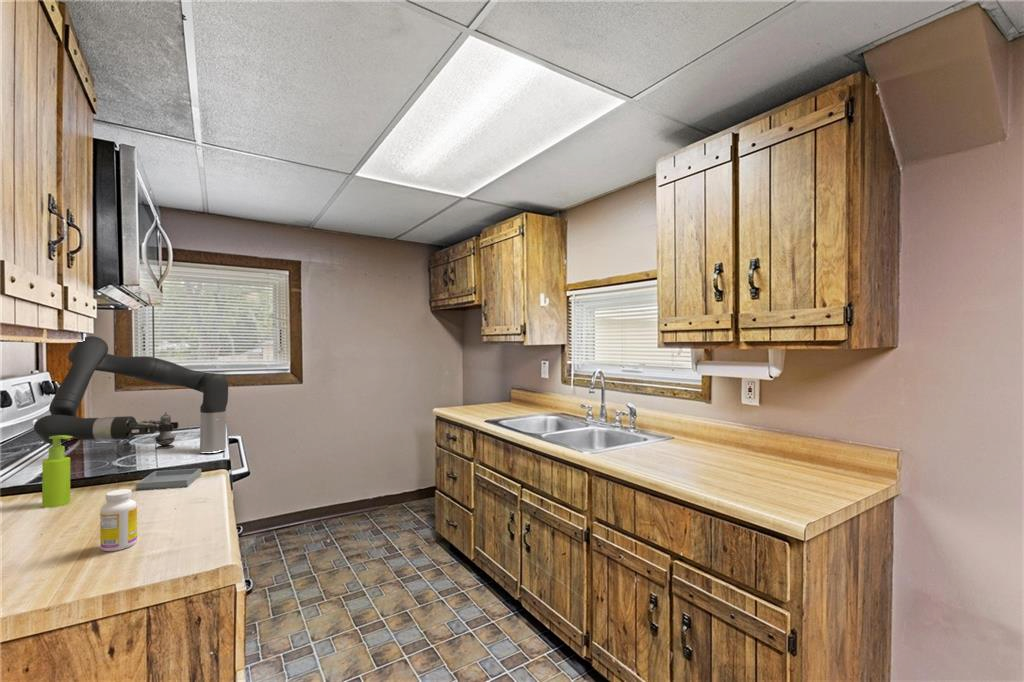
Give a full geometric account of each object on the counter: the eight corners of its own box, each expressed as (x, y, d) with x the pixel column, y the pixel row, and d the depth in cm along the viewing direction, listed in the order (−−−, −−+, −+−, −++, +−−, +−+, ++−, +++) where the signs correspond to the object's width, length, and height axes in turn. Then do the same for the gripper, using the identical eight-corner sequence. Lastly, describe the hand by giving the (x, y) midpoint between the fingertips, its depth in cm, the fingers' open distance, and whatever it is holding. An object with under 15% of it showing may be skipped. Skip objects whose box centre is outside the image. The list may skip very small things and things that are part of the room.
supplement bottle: (132, 537, 117) (133, 485, 116) (140, 545, 112) (140, 491, 112) (97, 546, 111) (97, 492, 111) (103, 555, 107) (103, 498, 107)
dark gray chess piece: (164, 450, 157) (164, 414, 157) (149, 448, 158) (150, 412, 158) (180, 446, 162) (180, 411, 162) (166, 445, 164) (166, 410, 164)
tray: (154, 478, 164) (154, 471, 164) (201, 475, 168) (201, 468, 168) (136, 490, 151) (136, 483, 151) (187, 487, 155) (187, 479, 155)
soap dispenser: (60, 508, 135) (60, 438, 135) (36, 507, 135) (36, 437, 135) (79, 500, 141) (79, 433, 141) (56, 500, 141) (56, 433, 141)
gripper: (103, 420, 149) (167, 419, 154) (126, 413, 163) (183, 412, 168) (103, 444, 149) (166, 442, 154) (125, 435, 163) (183, 433, 168)
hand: (175, 426), depth 161 cm, fingers closed on dark gray chess piece, 3 cm apart
